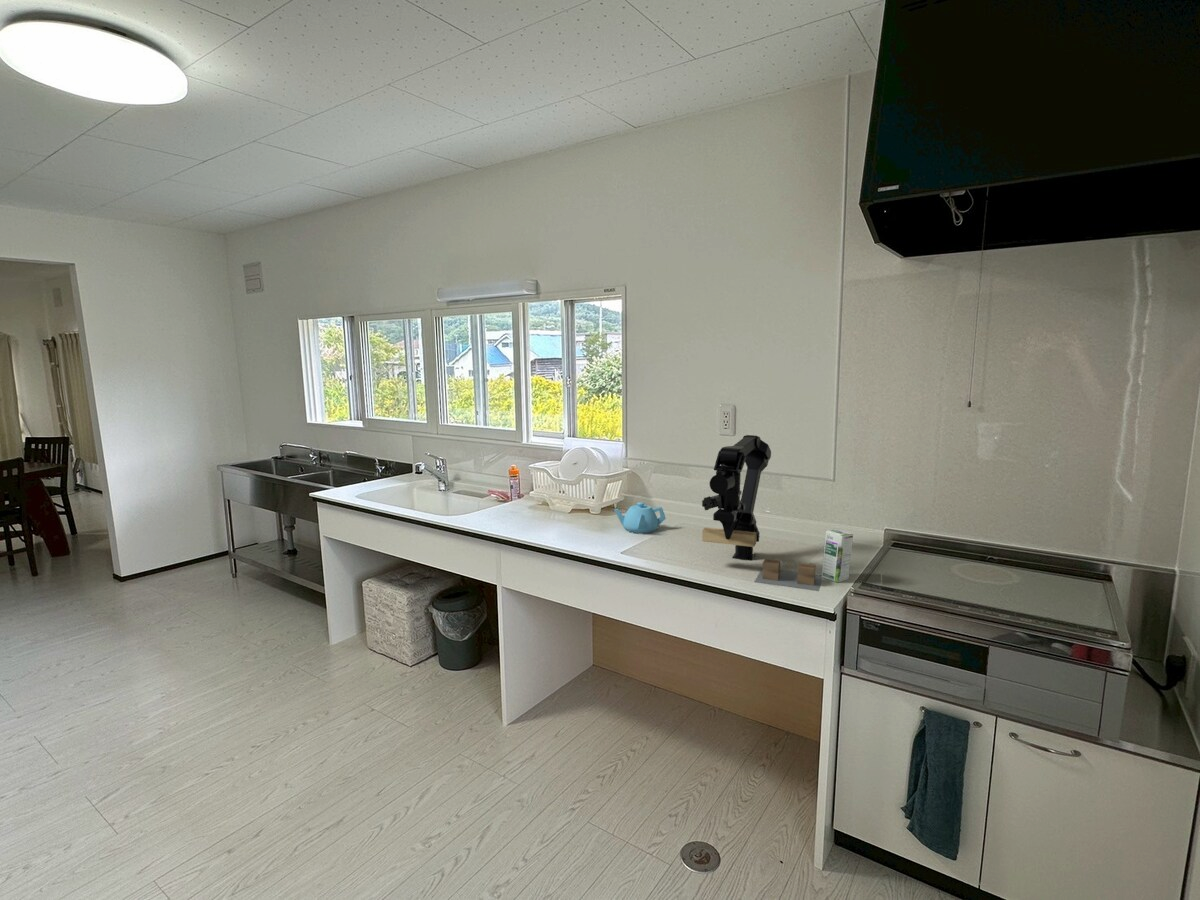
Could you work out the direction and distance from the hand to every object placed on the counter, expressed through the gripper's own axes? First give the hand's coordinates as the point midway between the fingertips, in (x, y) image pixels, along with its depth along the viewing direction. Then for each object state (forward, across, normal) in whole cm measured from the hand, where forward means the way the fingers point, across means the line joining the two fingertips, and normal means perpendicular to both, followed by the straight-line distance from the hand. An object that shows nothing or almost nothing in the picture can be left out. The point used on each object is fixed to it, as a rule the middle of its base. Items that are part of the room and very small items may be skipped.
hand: (729, 537), depth 190 cm
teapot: (+11, -33, -42) cm, 54 cm away
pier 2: (+10, +3, +24) cm, 26 cm away
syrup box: (+10, -4, +31) cm, 33 cm away
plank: (+2, 0, 0) cm, 2 cm away
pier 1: (+10, +3, +14) cm, 17 cm away
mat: (+10, +2, +18) cm, 21 cm away
